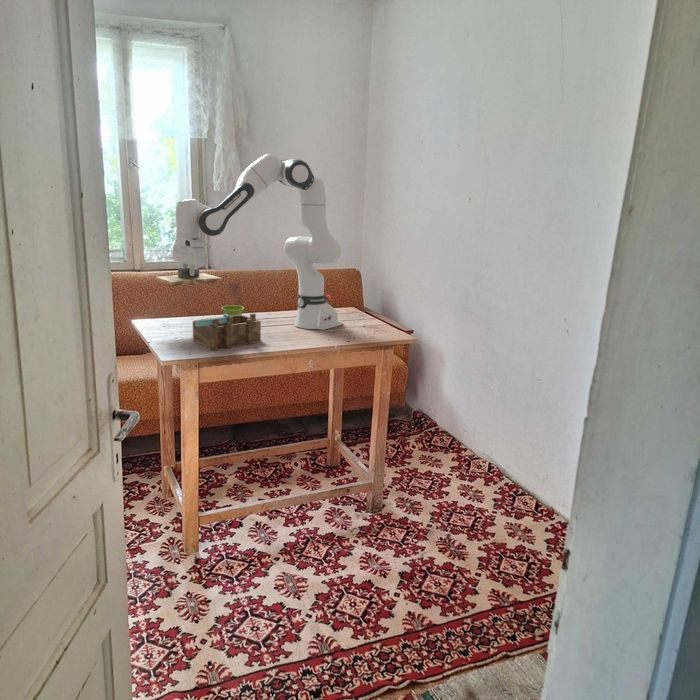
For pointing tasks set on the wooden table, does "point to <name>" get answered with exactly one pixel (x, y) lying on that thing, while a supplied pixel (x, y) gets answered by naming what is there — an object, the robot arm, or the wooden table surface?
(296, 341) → the wooden table surface
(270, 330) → the wooden table surface
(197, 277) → the lid
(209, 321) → the bar
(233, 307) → the plant pot
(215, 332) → the wooden crate
